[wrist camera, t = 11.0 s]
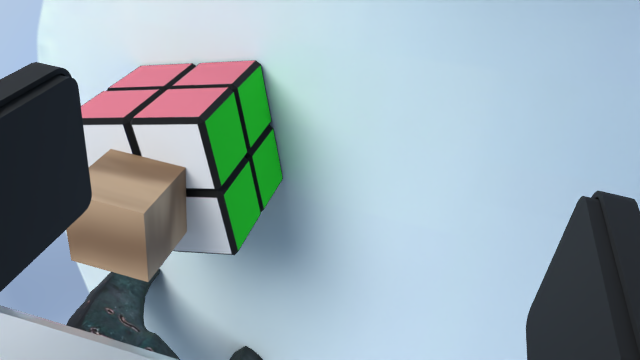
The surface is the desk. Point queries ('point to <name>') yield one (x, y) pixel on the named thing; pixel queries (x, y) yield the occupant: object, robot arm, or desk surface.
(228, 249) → the puzzle cube
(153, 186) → the light brown cube
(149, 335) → the dark green animal figurine
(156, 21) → the desk surface
